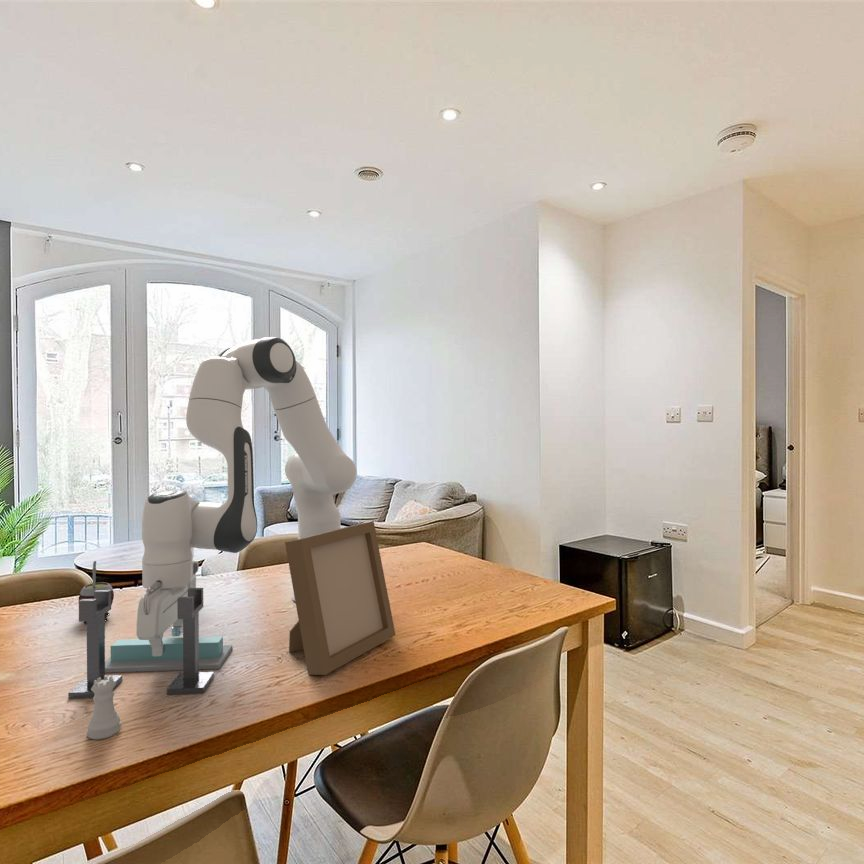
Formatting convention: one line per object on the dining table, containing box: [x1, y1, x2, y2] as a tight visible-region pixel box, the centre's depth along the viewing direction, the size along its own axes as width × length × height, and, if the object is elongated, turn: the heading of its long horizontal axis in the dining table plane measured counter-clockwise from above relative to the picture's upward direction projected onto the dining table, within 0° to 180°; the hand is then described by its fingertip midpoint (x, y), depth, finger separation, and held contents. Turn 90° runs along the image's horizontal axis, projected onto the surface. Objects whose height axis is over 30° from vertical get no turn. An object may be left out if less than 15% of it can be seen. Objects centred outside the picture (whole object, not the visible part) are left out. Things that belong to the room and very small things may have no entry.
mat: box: [105, 644, 233, 674], centre depth 108 cm, size 22×9×1 cm, turn 95°
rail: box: [110, 635, 224, 661], centre depth 108 cm, size 20×3×3 cm, turn 95°
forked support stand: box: [67, 587, 215, 699], centre depth 97 cm, size 22×6×16 cm, turn 95°
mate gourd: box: [78, 560, 115, 624], centre depth 130 cm, size 8×8×15 cm
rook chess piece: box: [86, 675, 122, 741], centre depth 83 cm, size 4×4×8 cm
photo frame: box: [284, 520, 396, 676], centre depth 113 cm, size 15×22×25 cm
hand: (168, 644), depth 108 cm, fingers open, 8 cm apart
